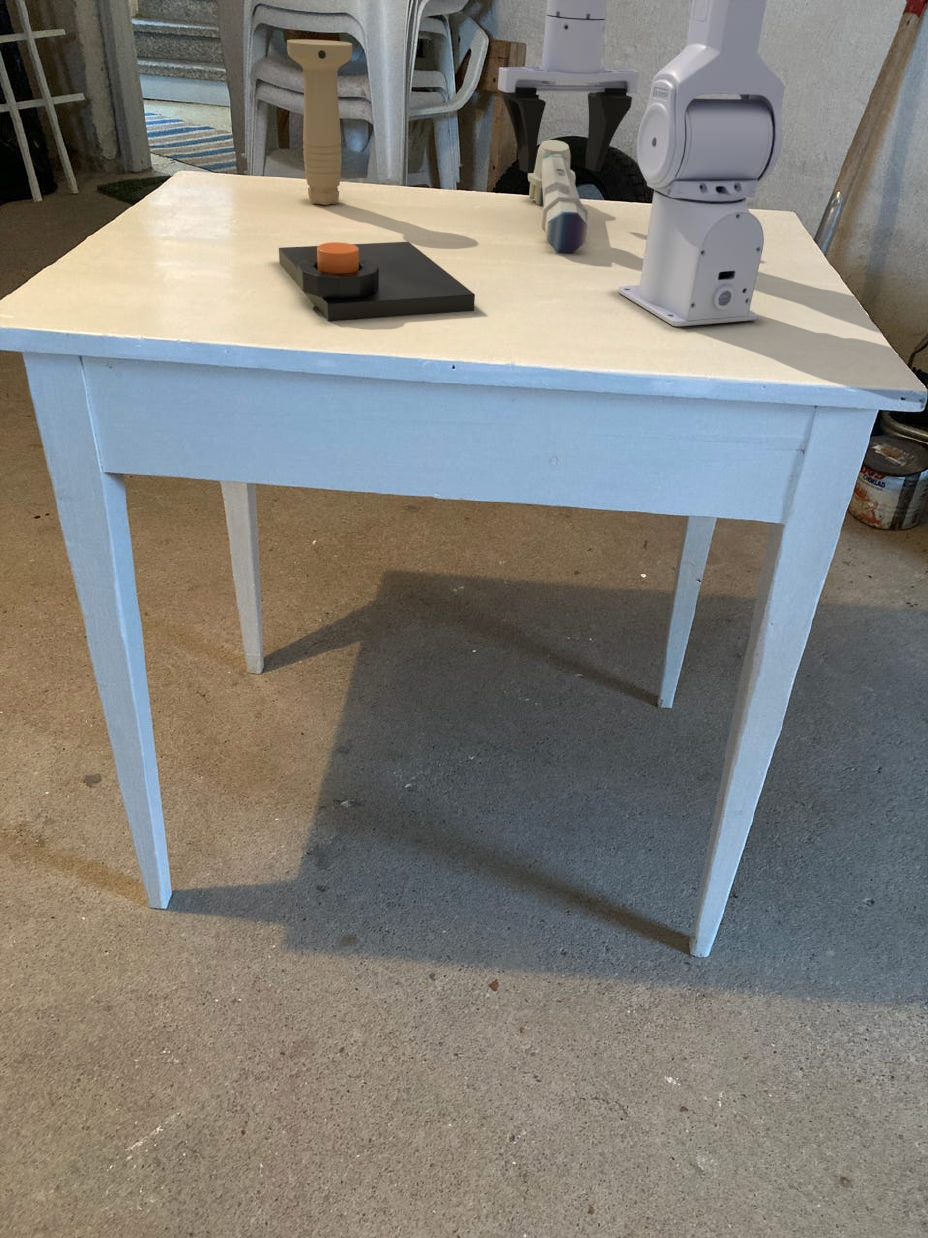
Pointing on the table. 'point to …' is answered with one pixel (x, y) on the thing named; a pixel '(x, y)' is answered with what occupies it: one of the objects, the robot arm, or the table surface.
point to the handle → (321, 114)
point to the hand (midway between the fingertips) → (560, 170)
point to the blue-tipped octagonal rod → (558, 197)
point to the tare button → (338, 257)
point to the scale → (378, 283)
